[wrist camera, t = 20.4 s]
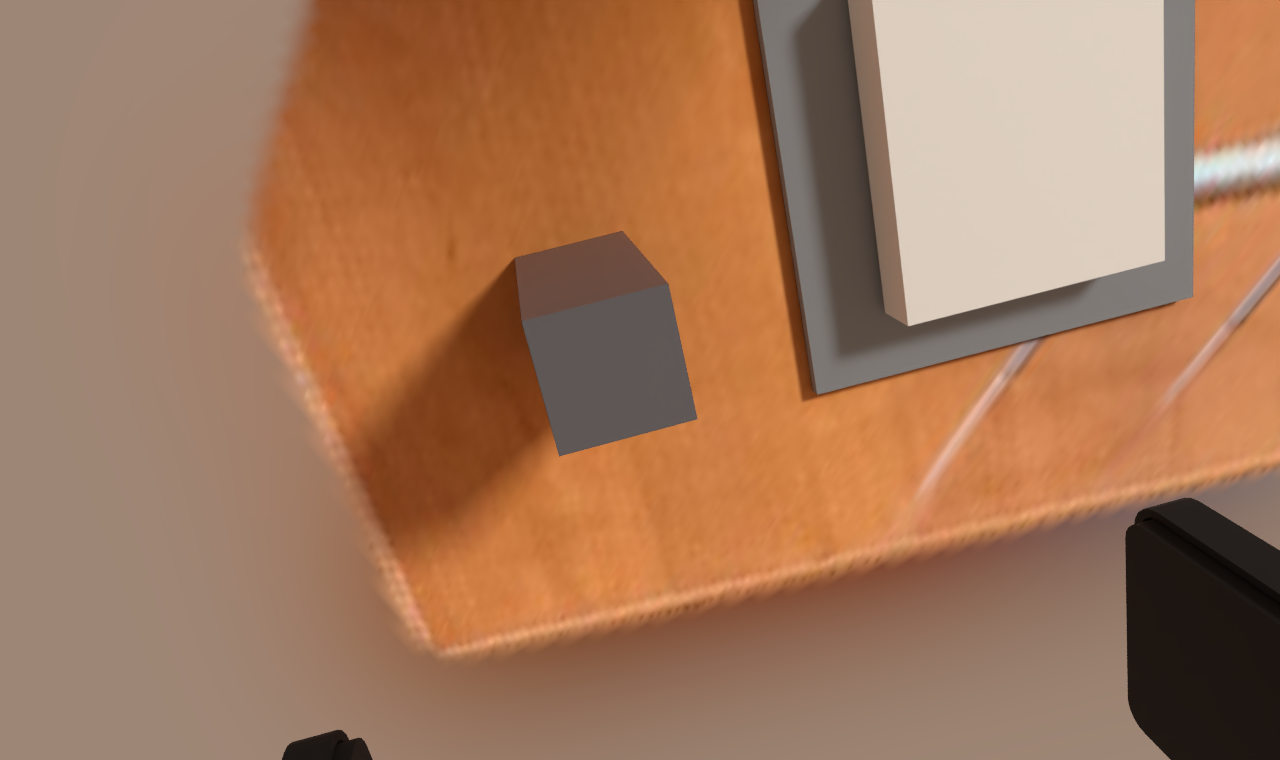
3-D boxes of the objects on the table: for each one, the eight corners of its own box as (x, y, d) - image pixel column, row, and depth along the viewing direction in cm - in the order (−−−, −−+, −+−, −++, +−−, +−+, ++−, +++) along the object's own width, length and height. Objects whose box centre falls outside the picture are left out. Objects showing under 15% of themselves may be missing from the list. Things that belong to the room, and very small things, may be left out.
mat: (725, -181, 28) (729, -186, 28) (1185, -277, 29) (1196, -283, 29) (812, 390, 35) (817, 394, 35) (1183, 294, 36) (1192, 297, 36)
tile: (868, -34, 28) (908, 326, 32) (1162, -99, 28) (1164, 260, 32) (841, -25, 30) (881, 310, 34) (1115, -87, 30) (1123, 249, 35)
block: (514, 257, 32) (521, 321, 23) (622, 231, 32) (668, 283, 23) (542, 361, 33) (558, 456, 24) (646, 334, 33) (697, 419, 25)
